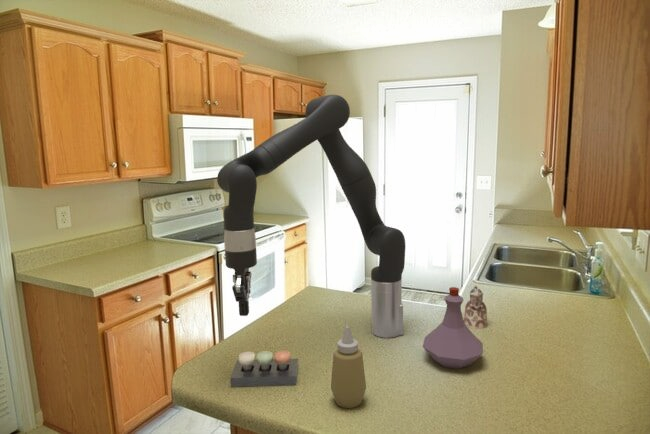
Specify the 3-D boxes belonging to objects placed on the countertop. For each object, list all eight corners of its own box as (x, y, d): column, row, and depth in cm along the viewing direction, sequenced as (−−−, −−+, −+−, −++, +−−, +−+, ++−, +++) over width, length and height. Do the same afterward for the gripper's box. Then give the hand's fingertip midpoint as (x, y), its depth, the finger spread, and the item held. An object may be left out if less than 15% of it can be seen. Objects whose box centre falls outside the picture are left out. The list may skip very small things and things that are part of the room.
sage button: (274, 365, 115) (273, 350, 115) (272, 373, 111) (271, 358, 111) (258, 365, 115) (257, 351, 115) (256, 373, 111) (255, 358, 111)
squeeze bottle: (329, 392, 106) (327, 320, 103) (363, 390, 106) (362, 318, 103) (333, 413, 98) (331, 335, 95) (369, 410, 98) (368, 333, 95)
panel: (297, 367, 118) (297, 358, 118) (296, 385, 109) (295, 376, 109) (237, 368, 118) (237, 360, 118) (230, 387, 109) (230, 378, 109)
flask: (409, 362, 119) (410, 290, 116) (438, 341, 131) (439, 275, 128) (469, 382, 108) (471, 304, 105) (494, 357, 121) (497, 286, 117)
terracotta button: (291, 364, 115) (290, 350, 115) (290, 372, 111) (289, 357, 111) (275, 365, 115) (275, 350, 115) (274, 373, 111) (273, 358, 111)
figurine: (462, 327, 141) (463, 290, 139) (464, 318, 147) (465, 283, 145) (486, 330, 138) (487, 292, 136) (487, 321, 144) (488, 285, 143)
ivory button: (256, 365, 115) (255, 351, 115) (254, 373, 111) (253, 358, 111) (241, 366, 115) (240, 351, 115) (238, 374, 111) (237, 359, 111)
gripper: (251, 253, 102) (255, 324, 104) (259, 240, 115) (262, 304, 117) (218, 253, 102) (223, 325, 104) (230, 241, 115) (234, 305, 117)
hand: (244, 314), depth 111 cm, fingers closed
